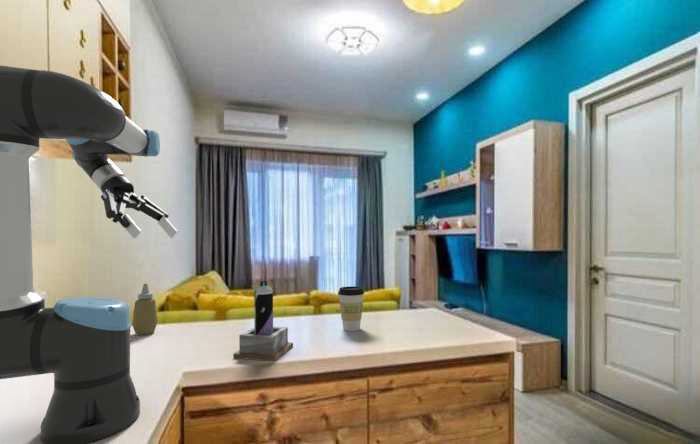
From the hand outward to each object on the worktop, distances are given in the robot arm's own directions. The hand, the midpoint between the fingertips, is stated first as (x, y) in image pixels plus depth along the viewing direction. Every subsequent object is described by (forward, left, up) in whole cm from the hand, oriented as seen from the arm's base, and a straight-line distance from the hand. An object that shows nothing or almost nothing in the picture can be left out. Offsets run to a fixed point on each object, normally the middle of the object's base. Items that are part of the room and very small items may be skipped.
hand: (157, 234), depth 100 cm
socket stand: (+14, -26, -36) cm, 46 cm away
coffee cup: (+44, -46, -36) cm, 73 cm away
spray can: (+14, -26, -35) cm, 45 cm away
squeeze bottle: (+25, +27, -36) cm, 52 cm away
